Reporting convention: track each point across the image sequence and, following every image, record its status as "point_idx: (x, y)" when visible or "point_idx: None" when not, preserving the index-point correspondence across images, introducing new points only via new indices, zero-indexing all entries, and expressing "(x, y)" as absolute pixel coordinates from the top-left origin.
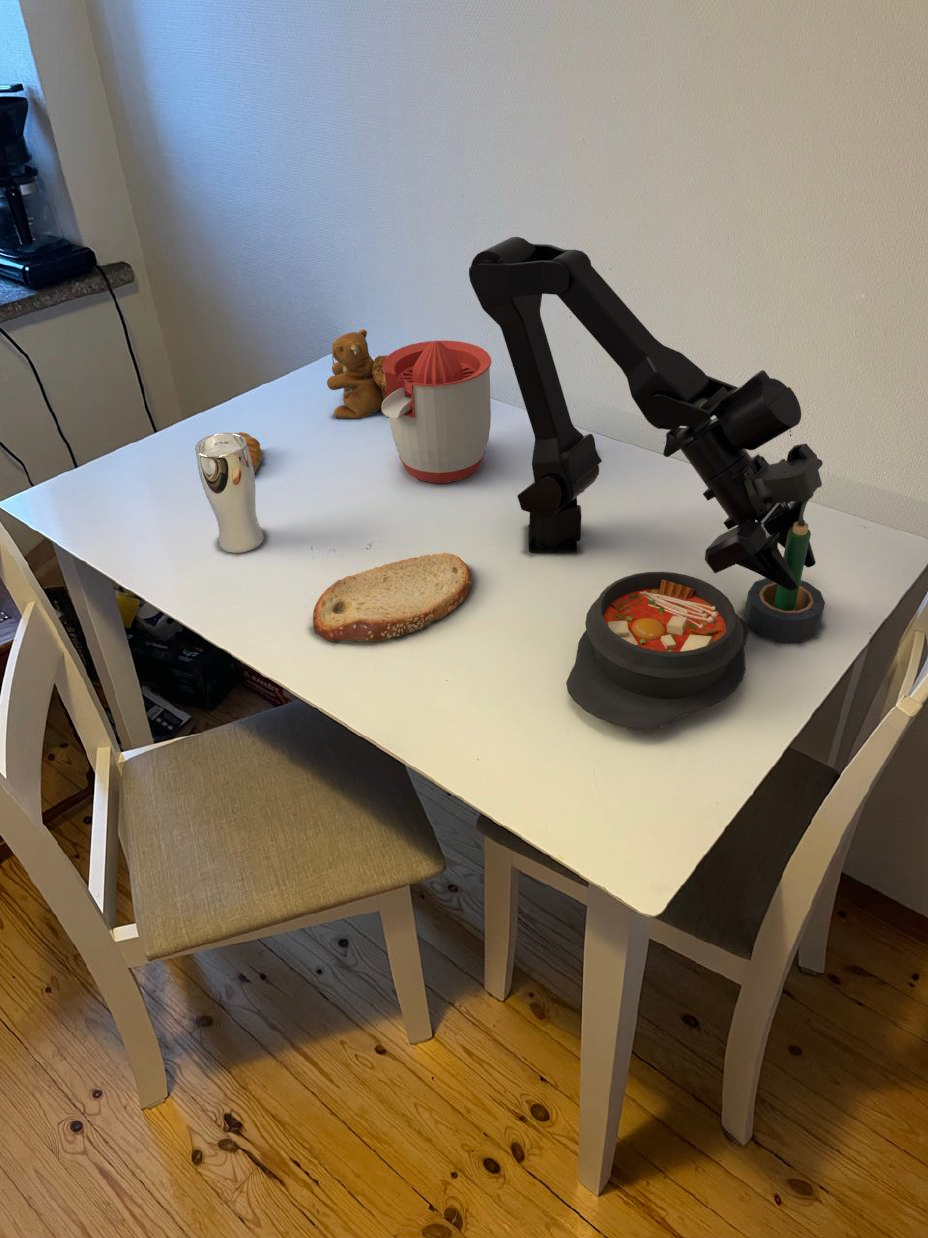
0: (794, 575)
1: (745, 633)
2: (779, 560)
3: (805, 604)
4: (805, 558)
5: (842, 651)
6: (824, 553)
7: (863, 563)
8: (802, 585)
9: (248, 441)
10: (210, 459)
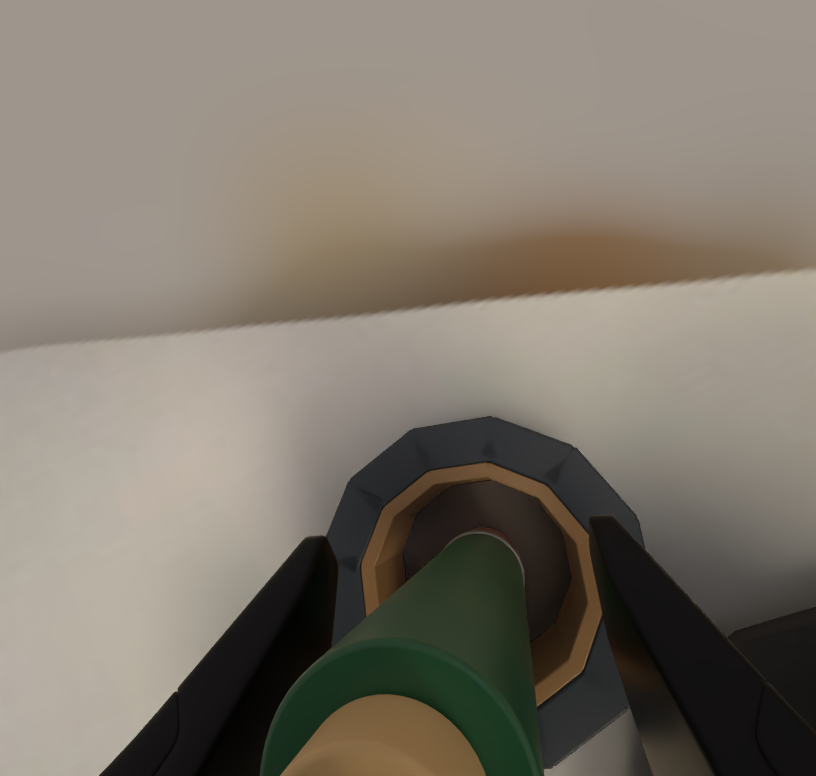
0: (511, 584)
1: (785, 634)
2: (812, 757)
3: (409, 512)
4: (320, 601)
5: (504, 325)
6: (50, 608)
7: (48, 478)
8: (354, 562)
9: None
10: None
